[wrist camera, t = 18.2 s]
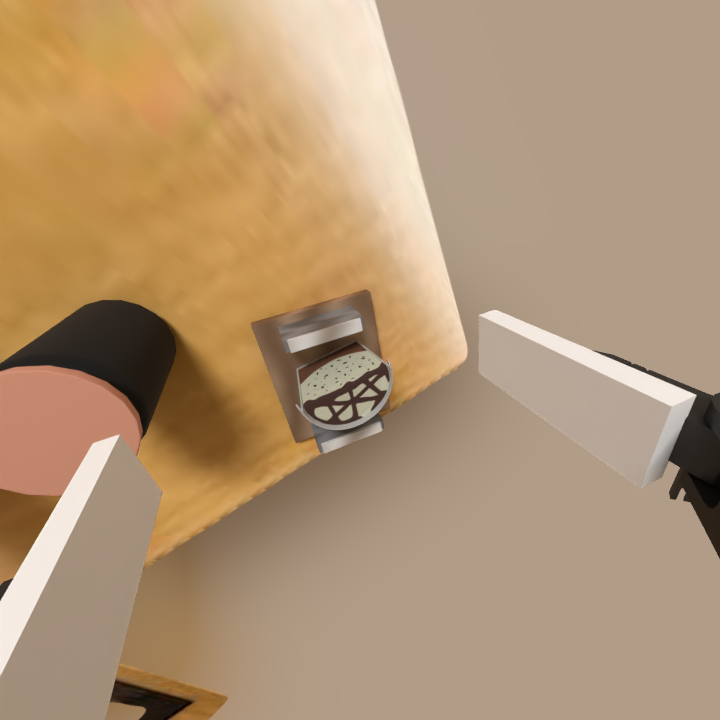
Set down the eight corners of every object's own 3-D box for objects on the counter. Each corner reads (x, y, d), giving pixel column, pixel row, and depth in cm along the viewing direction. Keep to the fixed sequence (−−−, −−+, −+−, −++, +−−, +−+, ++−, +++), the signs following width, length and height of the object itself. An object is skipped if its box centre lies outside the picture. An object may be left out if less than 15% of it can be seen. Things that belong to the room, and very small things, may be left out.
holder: (294, 437, 51) (302, 467, 45) (251, 322, 41) (253, 343, 35) (386, 403, 54) (404, 427, 49) (366, 289, 45) (386, 303, 39)
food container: (304, 405, 48) (319, 450, 39) (286, 373, 44) (298, 414, 36) (378, 368, 49) (408, 403, 41) (365, 334, 46) (394, 365, 37)
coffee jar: (40, 323, 34) (-117, 423, 19) (137, 280, 35) (62, 341, 20) (115, 396, 40) (39, 518, 24) (196, 356, 41) (172, 450, 26)
